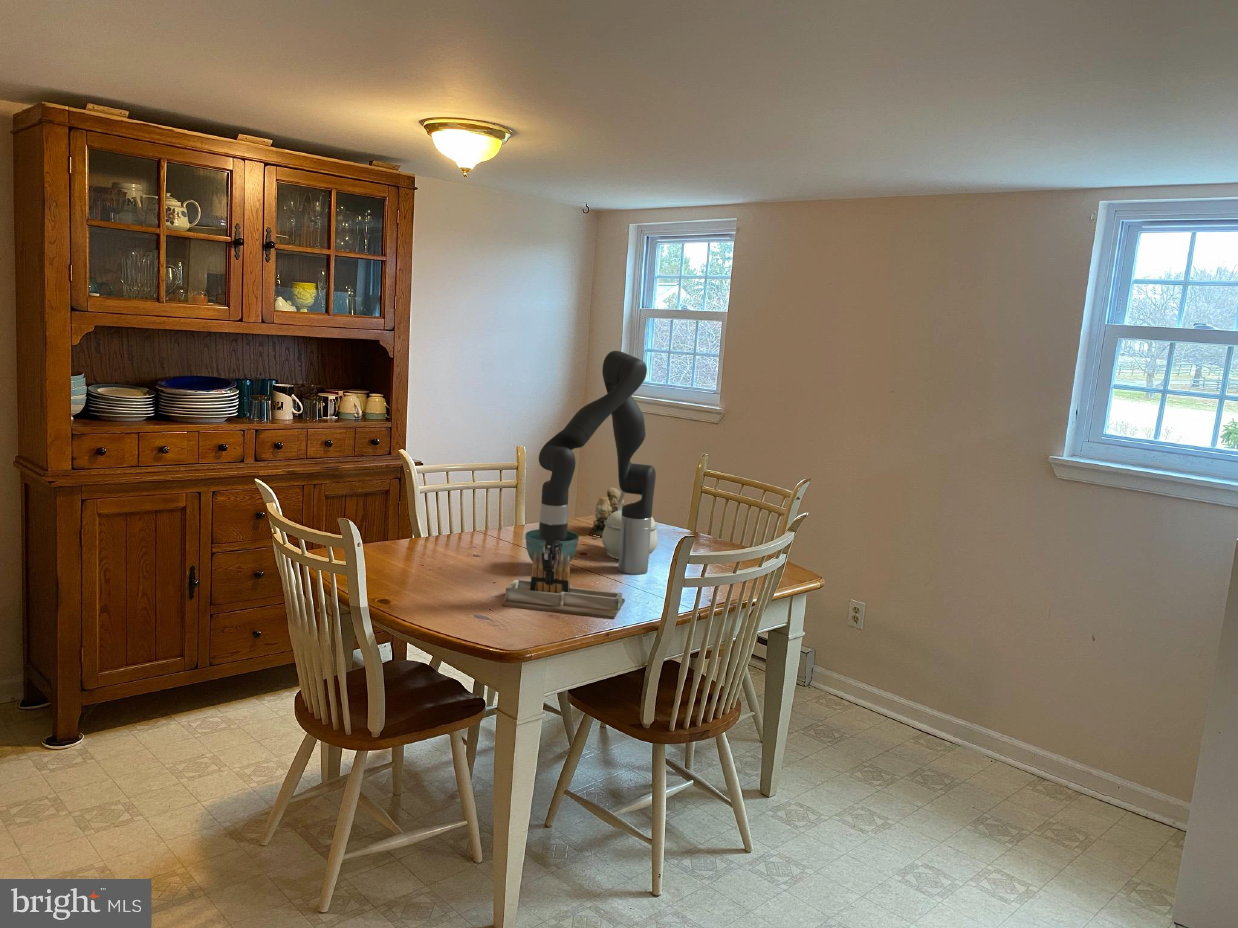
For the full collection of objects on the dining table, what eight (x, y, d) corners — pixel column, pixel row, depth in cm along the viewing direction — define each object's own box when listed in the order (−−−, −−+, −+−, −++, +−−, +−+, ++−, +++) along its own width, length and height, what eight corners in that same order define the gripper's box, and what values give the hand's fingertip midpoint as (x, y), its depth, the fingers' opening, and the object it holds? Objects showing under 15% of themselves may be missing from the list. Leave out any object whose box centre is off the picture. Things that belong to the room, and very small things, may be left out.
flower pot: (569, 579, 270) (571, 543, 268) (516, 573, 273) (518, 537, 272) (582, 566, 286) (584, 532, 284) (532, 560, 289) (534, 526, 287)
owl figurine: (602, 526, 344) (605, 482, 342) (631, 531, 340) (634, 486, 338) (582, 535, 328) (585, 488, 325) (613, 540, 323) (616, 492, 321)
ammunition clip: (529, 594, 247) (531, 551, 245) (531, 593, 249) (533, 549, 247) (568, 599, 245) (570, 555, 243) (569, 597, 247) (572, 554, 245)
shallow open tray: (518, 589, 256) (519, 576, 256) (624, 601, 252) (625, 588, 251) (501, 605, 241) (502, 591, 240) (614, 618, 236) (615, 604, 235)
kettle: (667, 563, 296) (673, 487, 292) (614, 565, 289) (620, 487, 285) (637, 544, 319) (642, 474, 315) (588, 546, 312) (592, 474, 308)
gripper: (546, 513, 251) (543, 575, 254) (533, 523, 238) (529, 588, 240) (573, 516, 250) (569, 578, 253) (561, 526, 236) (557, 591, 239)
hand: (550, 582), depth 246 cm, fingers closed on ammunition clip, 2 cm apart
